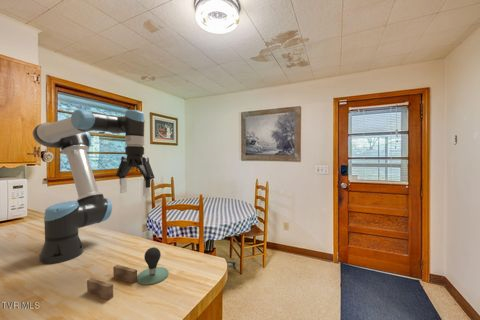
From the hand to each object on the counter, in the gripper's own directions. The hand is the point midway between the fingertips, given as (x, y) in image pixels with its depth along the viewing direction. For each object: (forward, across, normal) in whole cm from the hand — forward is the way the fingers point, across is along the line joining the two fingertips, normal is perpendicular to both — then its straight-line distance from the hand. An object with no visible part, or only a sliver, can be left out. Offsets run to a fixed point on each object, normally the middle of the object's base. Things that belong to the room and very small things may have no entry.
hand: (134, 193), depth 96 cm
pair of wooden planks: (+28, +12, -19) cm, 36 cm away
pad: (+28, +20, -9) cm, 35 cm away
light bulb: (+27, +20, -9) cm, 35 cm away
